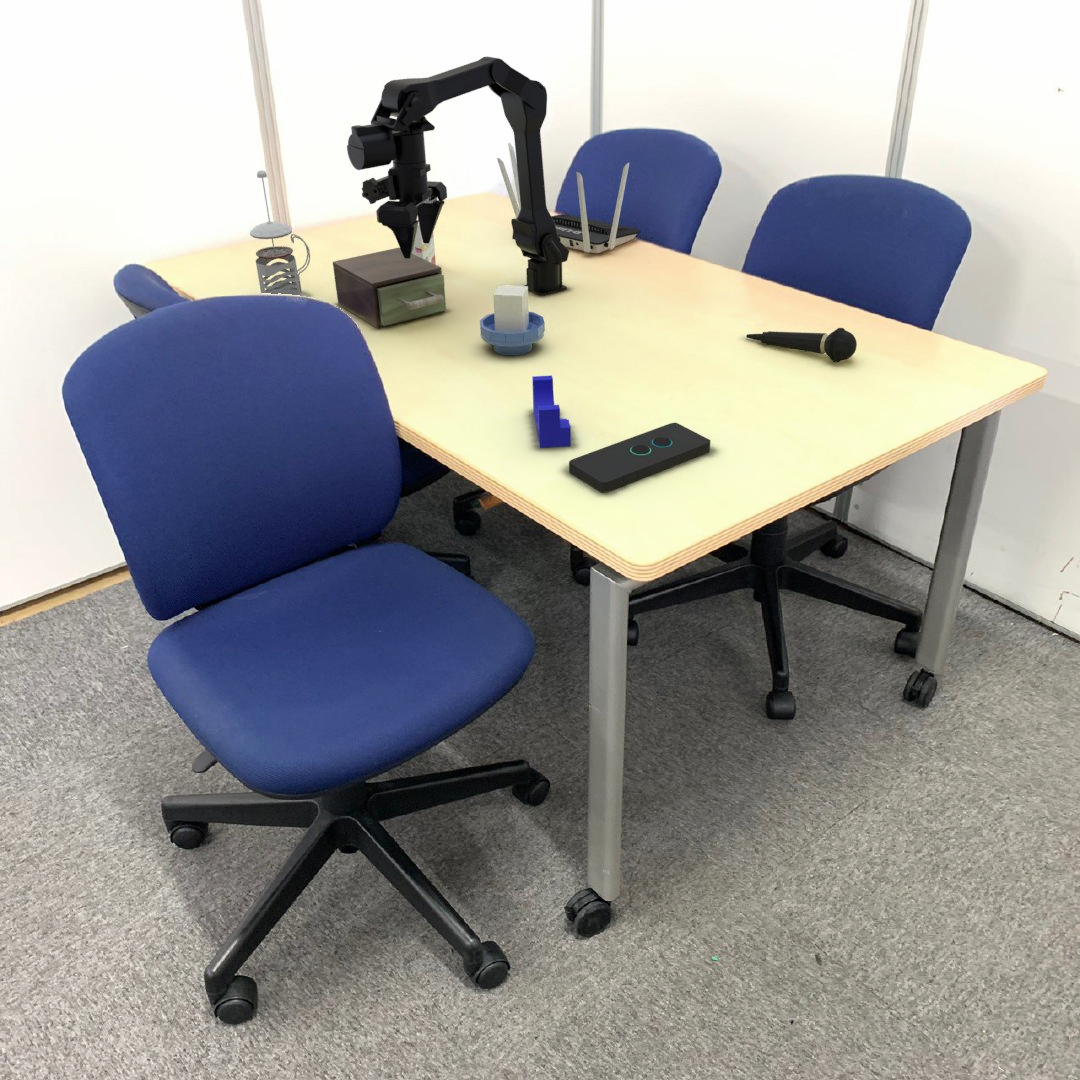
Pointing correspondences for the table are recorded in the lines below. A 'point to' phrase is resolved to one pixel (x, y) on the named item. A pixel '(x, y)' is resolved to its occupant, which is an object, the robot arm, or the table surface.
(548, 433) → the blue stepped block
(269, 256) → the french press
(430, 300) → the drawer
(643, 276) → the table surface
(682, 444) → the smart home device
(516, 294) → the white block
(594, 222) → the wireless router
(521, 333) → the blue bowl
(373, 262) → the cabinet
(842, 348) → the microphone
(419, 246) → the ink cartridge box
